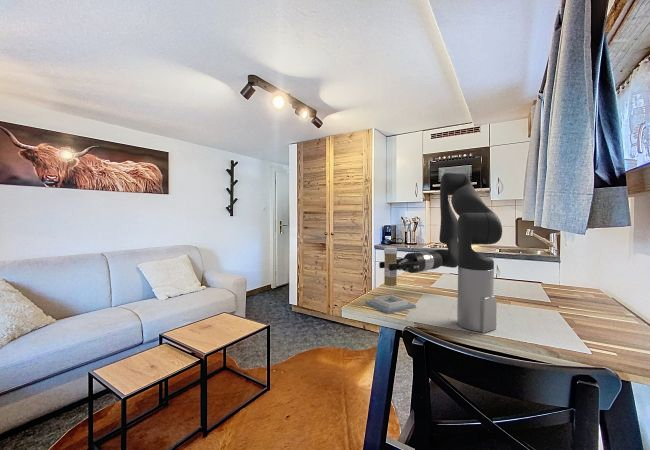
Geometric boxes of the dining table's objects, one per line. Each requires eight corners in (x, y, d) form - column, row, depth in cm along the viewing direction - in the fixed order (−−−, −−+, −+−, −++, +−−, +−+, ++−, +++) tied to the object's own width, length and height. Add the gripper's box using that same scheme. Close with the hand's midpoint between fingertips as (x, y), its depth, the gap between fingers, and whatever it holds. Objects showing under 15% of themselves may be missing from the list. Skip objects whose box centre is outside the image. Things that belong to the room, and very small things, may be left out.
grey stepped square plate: (415, 307, 97) (415, 300, 97) (387, 313, 91) (387, 306, 91) (391, 298, 108) (392, 292, 108) (365, 303, 102) (365, 297, 101)
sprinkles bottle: (382, 283, 101) (382, 247, 101) (393, 283, 102) (393, 246, 102) (387, 286, 97) (387, 248, 96) (399, 286, 98) (399, 248, 97)
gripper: (404, 250, 112) (371, 253, 104) (434, 254, 100) (399, 258, 92) (404, 268, 113) (371, 273, 104) (433, 275, 100) (398, 281, 92)
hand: (384, 266), depth 98 cm, fingers closed on sprinkles bottle, 4 cm apart
